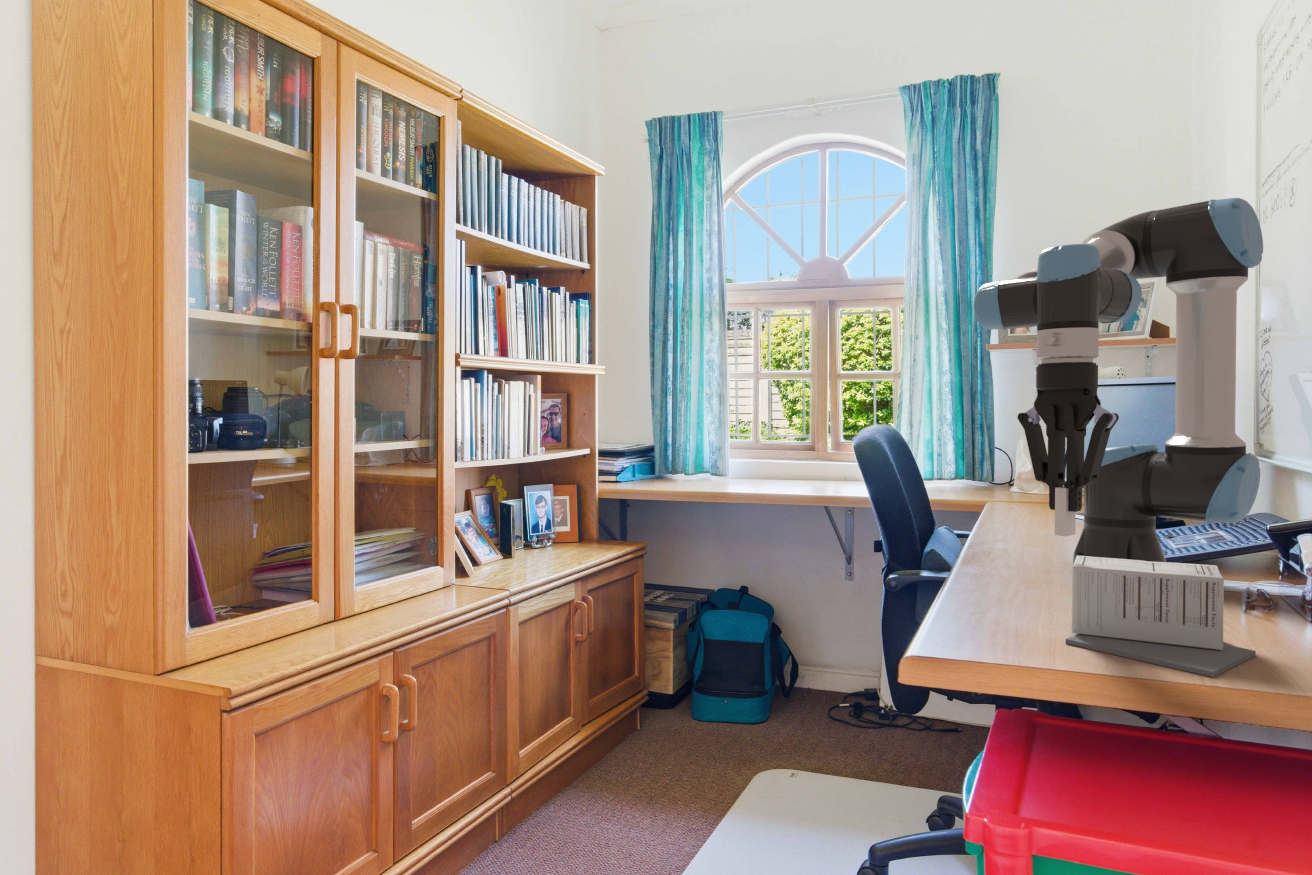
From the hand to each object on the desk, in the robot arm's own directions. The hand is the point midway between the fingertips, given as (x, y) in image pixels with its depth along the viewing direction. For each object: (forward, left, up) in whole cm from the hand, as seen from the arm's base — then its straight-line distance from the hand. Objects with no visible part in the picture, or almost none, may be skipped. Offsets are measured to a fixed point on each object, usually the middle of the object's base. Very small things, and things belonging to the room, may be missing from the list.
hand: (1065, 534), depth 114 cm
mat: (-1, +12, -13) cm, 18 cm away
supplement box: (-1, 0, -8) cm, 8 cm away
